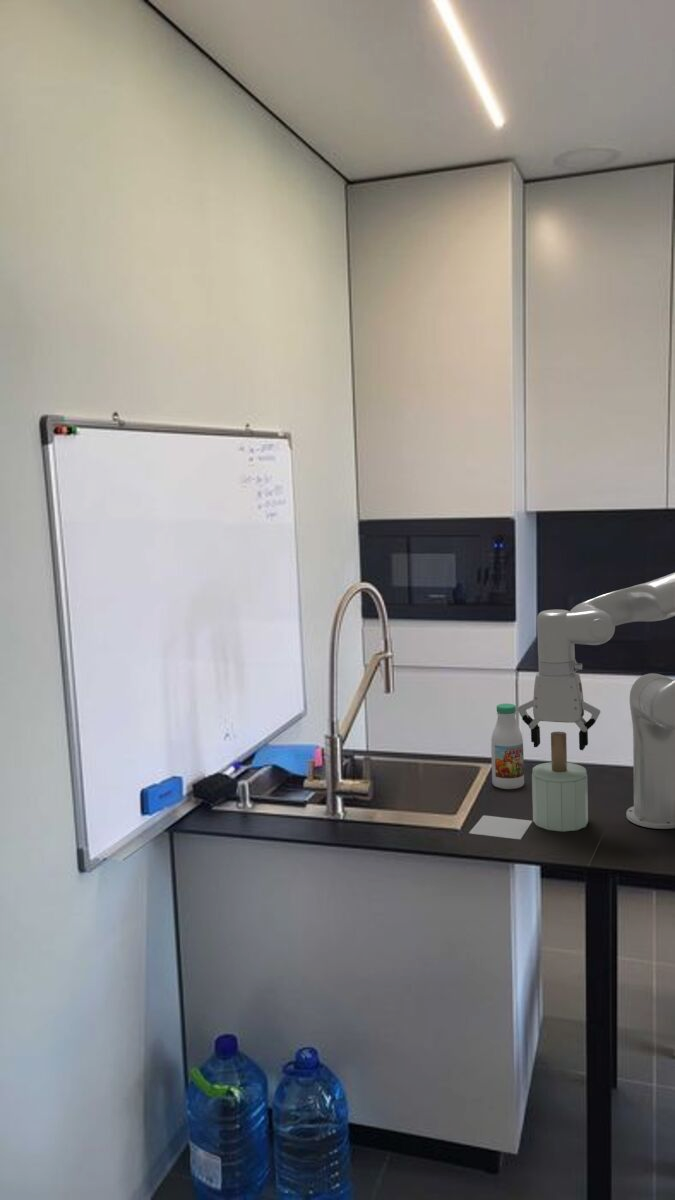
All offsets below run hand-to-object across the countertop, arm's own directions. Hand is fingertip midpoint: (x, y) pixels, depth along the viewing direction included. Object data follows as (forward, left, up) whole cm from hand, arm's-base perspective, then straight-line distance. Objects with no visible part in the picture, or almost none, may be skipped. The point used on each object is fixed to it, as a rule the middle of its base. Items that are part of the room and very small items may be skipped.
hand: (559, 747), depth 194 cm
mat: (+11, +7, -17) cm, 22 cm away
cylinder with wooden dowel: (0, 0, -17) cm, 17 cm away
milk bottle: (+17, -22, -17) cm, 33 cm away
